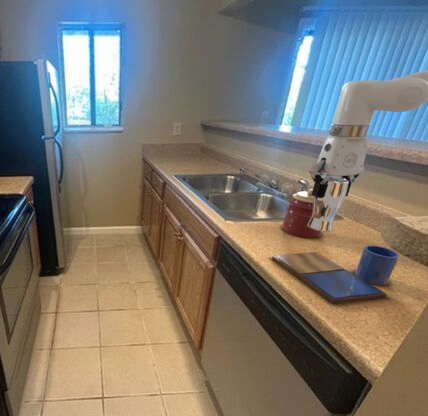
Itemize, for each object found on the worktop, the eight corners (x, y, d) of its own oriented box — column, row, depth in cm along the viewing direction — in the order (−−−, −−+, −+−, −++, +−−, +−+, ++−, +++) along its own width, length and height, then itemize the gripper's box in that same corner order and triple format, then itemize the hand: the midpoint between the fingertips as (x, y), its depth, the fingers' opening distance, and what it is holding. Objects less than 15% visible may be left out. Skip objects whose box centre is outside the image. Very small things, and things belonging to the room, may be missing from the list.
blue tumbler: (368, 270, 84) (378, 244, 81) (394, 284, 78) (406, 256, 74) (348, 272, 83) (358, 246, 80) (372, 286, 77) (384, 258, 74)
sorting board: (314, 254, 93) (315, 251, 92) (385, 297, 73) (387, 293, 72) (271, 259, 91) (272, 255, 90) (332, 303, 71) (333, 299, 70)
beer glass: (334, 234, 78) (351, 183, 72) (304, 228, 82) (318, 180, 76) (334, 226, 83) (349, 178, 77) (305, 220, 87) (318, 174, 81)
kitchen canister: (286, 236, 106) (297, 192, 100) (278, 222, 117) (287, 183, 111) (326, 240, 102) (341, 195, 96) (314, 226, 114) (325, 185, 107)
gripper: (331, 134, 68) (312, 202, 74) (392, 132, 70) (369, 198, 76) (306, 131, 75) (291, 193, 81) (362, 129, 77) (343, 190, 83)
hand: (329, 195), depth 78 cm, fingers closed on beer glass, 7 cm apart
